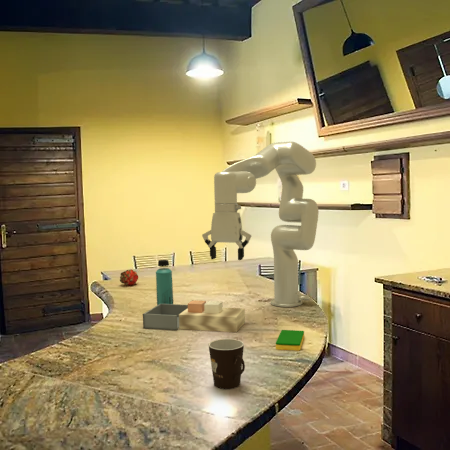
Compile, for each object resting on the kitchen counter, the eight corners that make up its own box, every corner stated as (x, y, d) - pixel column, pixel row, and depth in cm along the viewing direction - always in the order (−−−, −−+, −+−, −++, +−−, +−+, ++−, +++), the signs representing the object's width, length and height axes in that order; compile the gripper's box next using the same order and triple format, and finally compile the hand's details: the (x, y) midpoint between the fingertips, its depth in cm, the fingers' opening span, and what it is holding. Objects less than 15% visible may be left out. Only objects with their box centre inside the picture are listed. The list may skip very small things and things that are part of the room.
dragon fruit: (122, 291, 247) (132, 289, 258) (136, 280, 246) (145, 279, 257) (113, 276, 248) (123, 275, 260) (126, 266, 247) (136, 265, 259)
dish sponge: (304, 338, 164) (304, 330, 163) (300, 352, 150) (299, 344, 150) (281, 336, 165) (281, 329, 165) (275, 350, 152) (275, 342, 152)
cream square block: (222, 310, 179) (222, 301, 179) (218, 313, 175) (218, 304, 174) (208, 309, 181) (208, 301, 181) (204, 313, 176) (204, 304, 176)
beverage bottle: (171, 313, 196) (169, 261, 195) (154, 313, 198) (152, 261, 196) (176, 309, 203) (174, 258, 201) (159, 308, 204) (158, 258, 202)
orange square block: (206, 309, 181) (205, 300, 181) (201, 312, 176) (201, 304, 176) (192, 308, 182) (192, 300, 182) (187, 312, 178) (187, 303, 177)
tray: (191, 318, 188) (191, 305, 188) (176, 330, 174) (176, 315, 173) (160, 316, 192) (160, 303, 191) (143, 328, 177) (142, 314, 177)
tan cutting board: (244, 322, 181) (244, 308, 181) (236, 332, 170) (236, 317, 169) (191, 319, 187) (190, 306, 186) (179, 329, 175) (178, 314, 175)
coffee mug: (208, 378, 131) (207, 339, 130) (242, 376, 131) (241, 338, 130) (211, 397, 119) (210, 355, 118) (248, 395, 120) (247, 353, 119)
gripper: (253, 208, 175) (254, 258, 176) (206, 208, 180) (207, 257, 182) (247, 209, 168) (248, 261, 169) (197, 209, 173) (199, 260, 175)
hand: (226, 259), depth 175 cm, fingers open, 9 cm apart
